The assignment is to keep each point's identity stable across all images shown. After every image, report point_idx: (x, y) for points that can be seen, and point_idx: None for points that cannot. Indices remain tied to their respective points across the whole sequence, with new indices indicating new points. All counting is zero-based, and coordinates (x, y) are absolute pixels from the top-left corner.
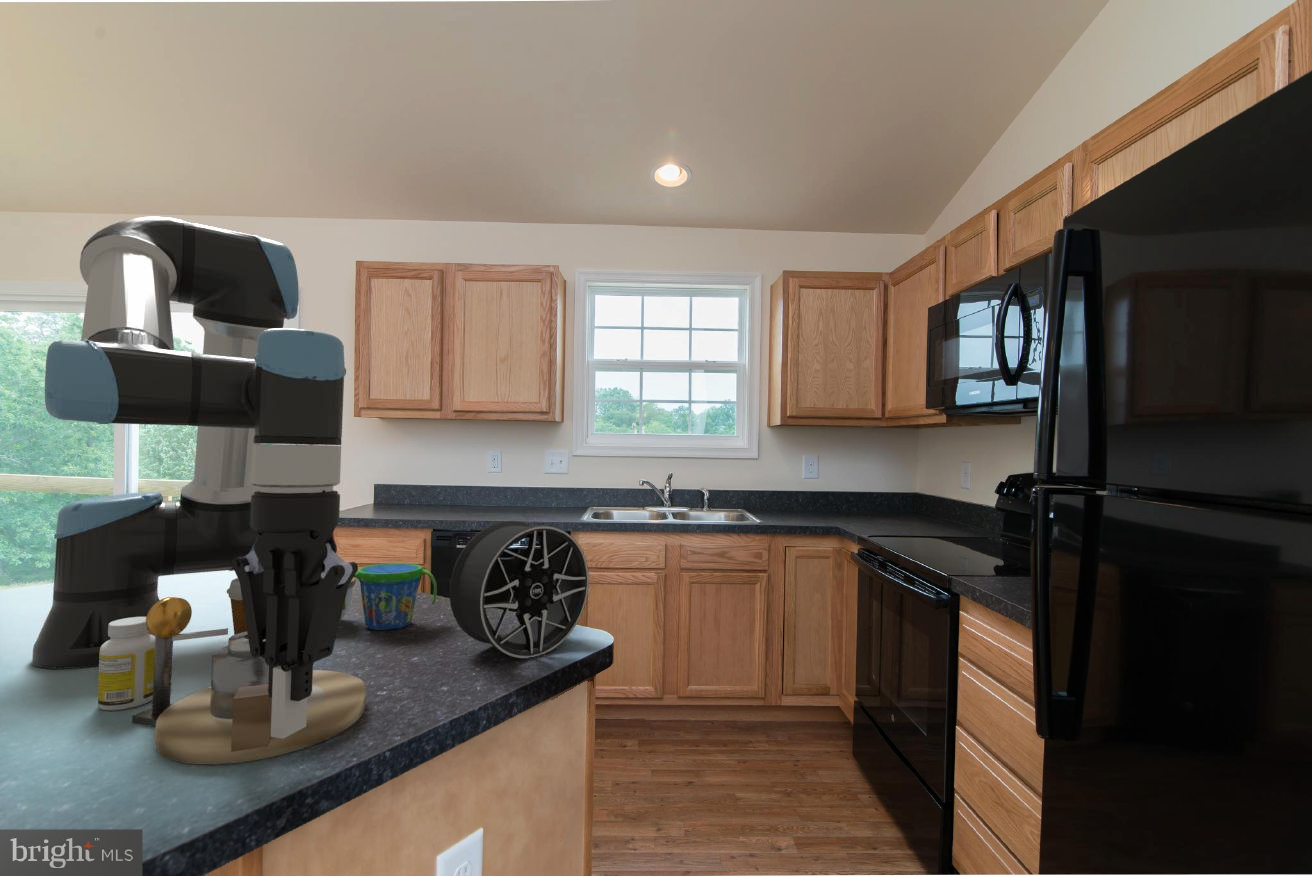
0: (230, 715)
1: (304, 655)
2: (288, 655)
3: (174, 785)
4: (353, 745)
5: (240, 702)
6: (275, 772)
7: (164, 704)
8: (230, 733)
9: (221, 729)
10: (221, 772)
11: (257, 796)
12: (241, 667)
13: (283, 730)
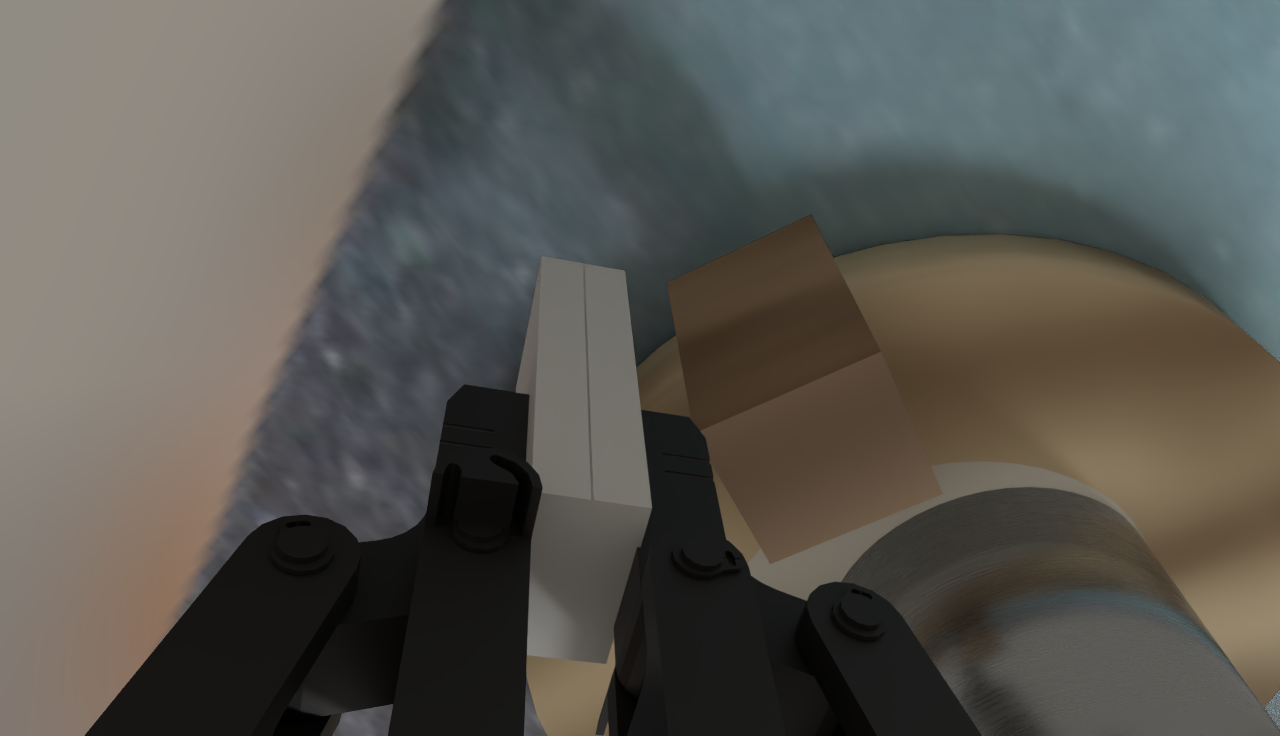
0: (1015, 499)
1: (337, 568)
2: (518, 579)
3: (988, 75)
4: (419, 453)
5: (836, 353)
6: (608, 220)
7: None
8: (926, 372)
9: (991, 401)
10: (848, 196)
11: (549, 22)
12: (1070, 686)
13: (541, 276)
